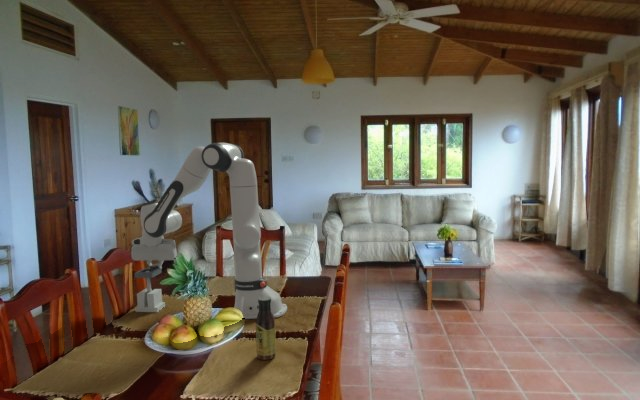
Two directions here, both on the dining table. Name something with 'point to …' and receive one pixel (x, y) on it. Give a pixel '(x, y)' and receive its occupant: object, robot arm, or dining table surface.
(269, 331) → the sauce bottle
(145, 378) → the dining table surface
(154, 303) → the grey post holder
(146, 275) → the dark grey flat block
